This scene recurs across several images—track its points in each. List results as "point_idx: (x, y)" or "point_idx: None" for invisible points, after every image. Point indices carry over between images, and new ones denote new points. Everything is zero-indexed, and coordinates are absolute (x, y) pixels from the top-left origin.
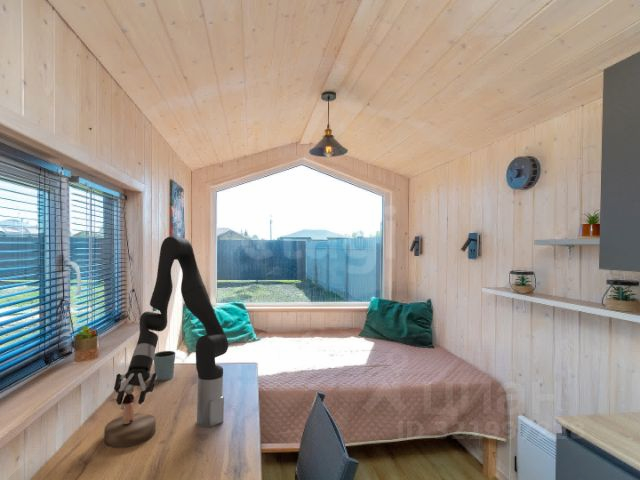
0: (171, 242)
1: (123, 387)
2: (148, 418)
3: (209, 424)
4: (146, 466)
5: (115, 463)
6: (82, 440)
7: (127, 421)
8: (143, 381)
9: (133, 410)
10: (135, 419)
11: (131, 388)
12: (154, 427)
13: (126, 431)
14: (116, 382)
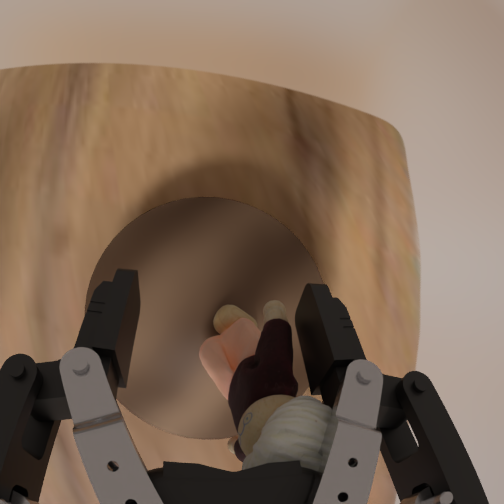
0: None
1: (351, 402)
2: (131, 373)
3: None
4: (102, 92)
5: (202, 116)
6: (379, 297)
7: (224, 312)
8: (82, 458)
9: (208, 368)
10: (199, 373)
11: (258, 437)
12: None
13: (204, 236)
14: (450, 438)
